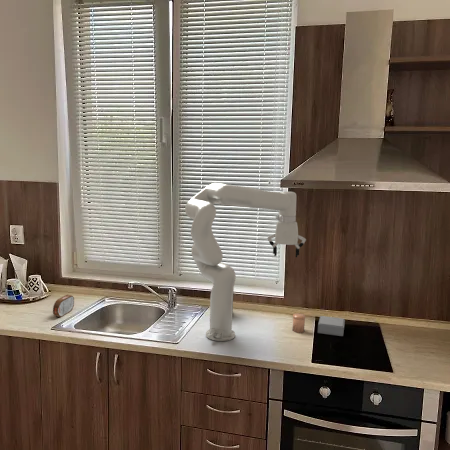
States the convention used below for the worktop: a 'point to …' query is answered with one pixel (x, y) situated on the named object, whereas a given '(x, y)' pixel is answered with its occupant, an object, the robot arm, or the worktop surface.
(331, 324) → the pedestal
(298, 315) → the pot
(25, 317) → the worktop surface
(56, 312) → the tin
